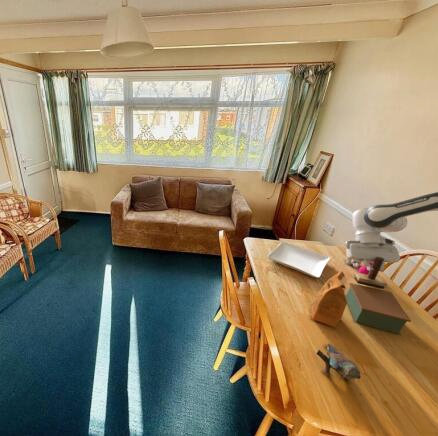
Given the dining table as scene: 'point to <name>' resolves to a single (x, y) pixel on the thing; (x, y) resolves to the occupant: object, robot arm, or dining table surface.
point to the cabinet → (376, 308)
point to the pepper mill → (365, 268)
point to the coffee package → (330, 301)
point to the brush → (372, 276)
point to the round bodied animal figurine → (353, 262)
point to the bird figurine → (339, 363)
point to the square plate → (299, 259)
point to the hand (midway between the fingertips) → (375, 270)
